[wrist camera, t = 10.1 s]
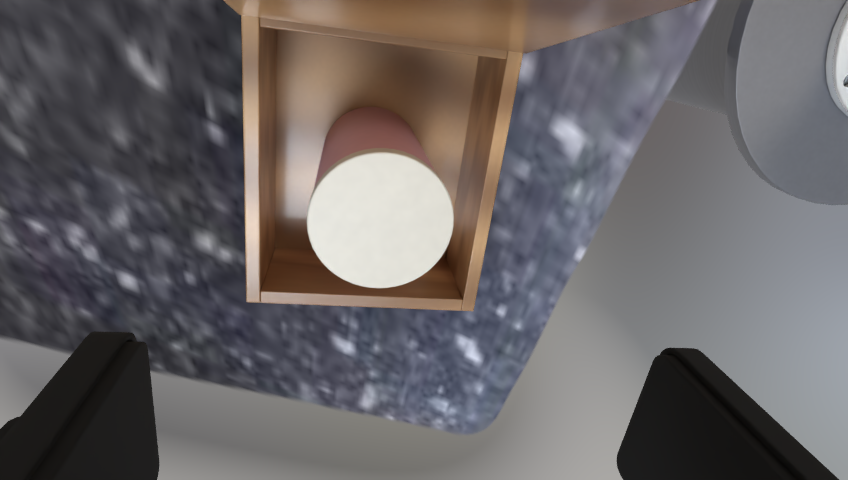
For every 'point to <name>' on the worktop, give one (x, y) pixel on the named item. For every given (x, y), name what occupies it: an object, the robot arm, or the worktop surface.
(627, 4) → the lid
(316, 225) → the tube
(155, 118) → the worktop surface
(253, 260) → the chest
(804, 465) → the robot arm
